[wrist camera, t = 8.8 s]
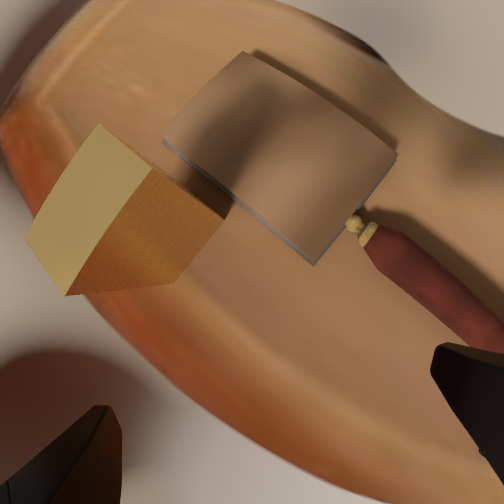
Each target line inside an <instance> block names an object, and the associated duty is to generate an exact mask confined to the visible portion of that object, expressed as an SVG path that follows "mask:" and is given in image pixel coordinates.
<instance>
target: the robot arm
mask: <svg viewBox="0 0 504 504" xmlns="http://www.w3.org/2000/svg"><path fill="white" fill-rule="evenodd" d="M430 373H431V376H432V378H433V379H434V381H435V382H436V384H437V386H438V387H439V389H440V391H441V392H442V394H443V396H444V397H445V399H446V401H447V403H448V404H449V406H450V408H451V409H452V411H453V412H454V414H455V415H456V416H457V418H458V419H459V421H460V422H461V423H462V425H463V426H464V428H465V429H466V430H467V432H468V433H469V435H470V436H471V437H472V439H473V440H474V442H475V443H476V445H477V446H478V447H479V453H480V454H481V455H482V456H484V457H485V458H486V459H487V461H488V462H489V464H490V465H491V467H492V468H493V470H494V471H495V473H496V474H497V476H498V477H499V479H500V480H501V482H502V483H503V485H504V354H502V353H497V352H492V351H487V350H482V349H477V348H473V347H468V346H463V345H459V344H454V343H450V342H446V343H443V344H441V345H438V346H437V347H436V348H435V351H434V355H433V359H432V363H431V367H430ZM121 486H122V430H121V427H120V425H119V423H118V420H117V418H116V416H115V414H114V411H113V409H112V407H111V406H109V405H94V406H93V407H92V408H91V409H89V410H88V411H87V412H86V413H85V414H84V415H82V416H81V417H80V418H79V419H78V420H77V421H76V422H74V423H73V424H72V425H71V426H70V427H68V428H67V429H66V430H65V431H64V432H63V433H62V434H60V435H59V436H58V437H57V438H56V439H54V440H53V441H52V442H51V443H50V444H49V445H47V446H46V447H45V448H44V449H43V450H42V451H40V452H39V453H38V454H37V455H36V456H34V457H33V458H32V459H31V460H30V461H28V462H27V463H26V464H25V465H24V466H23V467H21V468H20V469H19V470H18V471H17V472H15V473H14V474H13V475H12V476H11V477H10V478H8V480H6V481H4V482H3V483H2V484H1V485H0V504H120V497H121Z"/></svg>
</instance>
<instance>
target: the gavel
mask: <svg viewBox="0 0 504 504" xmlns="http://www.w3.org/2000/svg"><path fill="white" fill-rule="evenodd" d="M345 226H346V228H347V230H349V231H350V232H352V233H356V234H357V235H358V244H359V245H360V246H362V247H363V248H364V250H365V251H366V253H367V254H368V256H369V257H370V259H371V260H372V262H373V263H374V265H375V266H376V268H377V269H378V270H379V271H380V272H381V273H383V274H384V275H385V276H387V277H388V278H389V279H390V280H392V281H393V282H394V283H395V284H397V285H398V286H399V287H400V288H402V289H403V290H404V291H405V292H407V293H408V294H409V295H410V296H412V297H413V298H414V299H415V300H416V301H418V302H419V303H420V304H421V305H423V306H424V307H425V308H426V309H427V310H429V311H430V312H431V313H432V314H433V315H434V316H436V317H437V318H438V319H439V320H440V321H442V322H443V323H444V324H445V325H446V326H447V327H449V328H450V329H451V330H452V331H453V332H454V333H455V334H457V335H458V336H459V337H460V338H461V339H462V340H463V341H465V342H466V343H467V344H468V345H469V346H470V347H473V348H477V349H482V350H487V351H492V352H497V353H502V354H504V323H503V322H502V321H501V320H500V319H499V318H498V317H497V316H496V315H495V314H494V313H493V312H492V311H491V310H490V309H489V308H488V307H487V306H486V305H485V304H484V303H483V302H482V301H481V300H480V299H479V298H478V297H476V296H475V295H474V294H473V293H472V292H471V291H470V290H469V289H468V288H467V287H466V286H465V285H464V284H463V283H461V282H460V281H459V280H458V279H457V278H456V277H455V276H454V275H453V274H451V273H450V272H449V271H448V270H447V269H446V268H445V267H443V266H442V265H441V264H440V263H439V262H438V261H436V260H435V259H434V258H433V257H432V256H431V255H429V254H428V253H427V252H426V251H425V250H423V249H422V248H421V247H420V246H418V245H417V244H416V243H415V242H414V241H412V240H411V239H410V238H409V237H407V236H406V235H405V234H403V233H401V232H398V231H395V230H392V229H389V228H386V227H383V226H380V225H378V224H377V223H375V222H369V223H367V224H365V223H364V222H363V221H362V219H361V218H360V217H359V216H357V215H353V214H352V215H351V217H350V218H349V219H348V220H347V222H346V223H345Z"/></svg>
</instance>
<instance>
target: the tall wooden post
mask: <svg viewBox="0 0 504 504" xmlns="http://www.w3.org/2000/svg"><path fill="white" fill-rule="evenodd" d="M223 221H224V219H223V218H222V217H220V216H219V215H218V214H217V213H216V212H215V211H213V210H212V209H211V208H210V207H209V206H207V205H206V204H205V203H204V202H203V201H201V200H200V199H199V198H198V197H197V196H195V195H194V194H193V193H192V192H191V191H189V190H188V189H187V188H185V187H184V186H183V185H181V184H180V183H179V182H177V181H176V180H175V179H173V178H172V177H171V176H169V175H168V174H167V173H165V172H164V171H163V170H161V169H160V168H159V167H157V166H156V165H155V164H153V163H152V162H151V161H149V160H148V159H147V158H145V157H144V156H143V155H141V154H140V153H139V152H137V151H136V150H135V149H133V148H132V147H131V146H129V145H128V144H127V143H125V142H124V141H123V140H121V139H120V138H118V137H117V136H116V135H114V134H113V133H112V132H110V131H109V130H108V129H106V128H105V127H104V126H102V125H101V124H98V125H97V126H96V128H95V129H94V130H93V132H92V133H91V134H90V135H89V137H88V138H87V139H86V141H85V142H84V143H83V145H82V146H81V147H80V149H79V150H78V152H77V153H76V154H75V156H74V157H73V159H72V160H71V162H70V163H69V164H68V166H67V167H66V169H65V170H64V172H63V173H62V175H61V176H60V178H59V179H58V181H57V183H56V184H55V186H54V187H53V189H52V191H51V192H50V194H49V195H48V197H47V199H46V200H45V202H44V204H43V206H42V207H41V209H40V211H39V213H38V214H37V216H36V218H35V220H34V222H33V223H32V225H31V227H30V229H29V231H28V233H27V235H26V237H25V240H26V242H27V243H28V245H29V246H30V248H31V249H32V251H33V252H34V254H35V255H36V257H37V258H38V260H39V261H40V263H41V264H42V266H43V267H44V268H45V270H46V271H47V273H48V274H49V276H50V277H51V278H52V280H53V281H54V282H55V284H56V285H57V287H58V288H59V289H60V290H61V292H62V293H63V294H64V296H70V295H80V294H89V293H98V292H107V291H115V290H124V289H132V288H141V287H149V286H157V285H165V284H173V283H174V282H175V281H176V279H177V278H178V277H179V276H180V274H181V273H182V272H183V271H184V269H185V268H186V267H187V266H188V264H189V263H190V262H191V261H192V259H193V258H194V257H195V256H196V254H197V253H198V252H199V251H200V249H201V248H202V247H203V246H204V244H205V243H206V242H207V241H208V240H209V238H210V237H211V236H212V235H213V233H214V232H215V231H216V230H217V229H218V227H219V226H220V225H221V224H222V223H223Z"/></svg>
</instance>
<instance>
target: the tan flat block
mask: <svg viewBox="0 0 504 504" xmlns="http://www.w3.org/2000/svg"><path fill="white" fill-rule="evenodd" d="M159 136H160V137H161V138H162V139H163V141H162V143H163V144H164V145H165V146H166V147H168V148H169V149H170V150H172V151H173V152H174V153H175V154H177V155H178V156H179V157H180V158H182V159H183V160H184V161H186V162H187V163H188V164H189V165H191V166H192V167H193V168H194V169H196V170H197V171H198V172H199V173H201V174H202V175H203V176H204V177H206V178H207V179H208V180H209V181H211V182H212V183H213V184H214V185H216V186H217V187H218V188H219V189H221V190H222V191H223V192H224V193H226V194H227V195H228V196H229V197H230V198H232V199H233V200H234V201H235V202H237V203H238V204H239V205H240V206H242V207H243V208H244V209H245V210H246V211H248V212H249V213H250V214H251V215H252V216H254V217H255V218H256V219H257V220H259V221H260V222H261V223H262V224H263V225H265V226H266V227H267V228H268V229H269V230H271V231H272V232H273V233H274V234H275V235H277V236H278V237H279V238H280V239H281V240H283V241H284V242H285V243H286V244H287V245H289V246H290V247H291V248H292V249H293V250H294V251H296V252H297V253H298V254H299V255H300V256H302V257H303V258H304V259H305V260H306V261H307V262H309V263H310V264H311V265H312V266H314V265H315V264H316V263H317V261H318V260H319V259H320V258H321V257H322V255H323V254H324V253H325V252H326V251H327V249H328V248H329V247H330V246H331V244H332V243H333V242H334V241H335V240H336V238H337V237H338V236H339V235H340V233H341V232H342V231H343V230H344V228H345V227H346V226H345V223H346V222H347V220H348V219H349V218H350V217H351V215H352V214H353V215H355V214H356V213H357V212H358V211H359V209H360V208H361V207H362V205H363V204H364V203H365V202H366V200H367V199H368V198H369V196H370V195H371V194H372V192H373V191H374V190H375V188H376V187H377V186H378V185H379V183H380V182H381V181H382V179H383V178H384V177H385V175H386V174H387V173H388V171H389V170H390V168H391V167H392V166H393V164H394V163H395V162H396V159H395V158H396V156H397V155H398V154H397V153H396V152H395V151H394V150H393V149H391V148H390V147H389V146H388V145H387V144H385V143H384V142H383V141H382V140H380V139H379V138H378V137H377V136H375V135H374V134H373V133H372V132H370V131H369V130H368V129H366V128H365V127H364V126H362V125H361V124H360V123H358V122H357V121H356V120H354V119H353V118H352V117H350V116H349V115H347V114H346V113H345V112H343V111H342V110H340V109H339V108H338V107H336V106H335V105H333V104H332V103H330V102H329V101H327V100H326V99H324V98H323V97H321V96H320V95H318V94H317V93H315V92H314V91H312V90H311V89H309V88H307V87H306V86H304V85H303V84H301V83H299V82H298V81H296V80H294V79H293V78H291V77H289V76H288V75H286V74H284V73H283V72H281V71H279V70H277V69H276V68H274V67H272V66H270V65H268V64H267V63H265V62H263V61H261V60H259V59H257V58H255V57H254V56H252V55H250V54H248V53H246V52H244V51H242V52H241V53H240V54H238V55H237V56H236V57H235V58H234V59H233V60H232V61H231V62H230V63H228V64H227V65H226V66H225V67H224V68H223V69H222V70H221V71H220V72H219V73H218V74H217V75H216V76H215V77H214V78H212V79H211V80H210V81H209V82H208V83H207V84H206V85H205V86H204V87H203V88H202V89H201V90H200V91H199V92H198V93H197V94H196V95H195V96H194V97H193V98H192V99H191V100H190V101H189V103H188V104H187V105H186V106H185V107H184V108H183V109H182V110H181V111H180V112H179V113H178V114H177V115H176V116H175V117H174V119H173V120H172V121H171V122H170V123H169V124H168V125H167V126H166V127H165V129H164V130H163V131H162V132H161V133H160V134H159Z"/></svg>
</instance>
